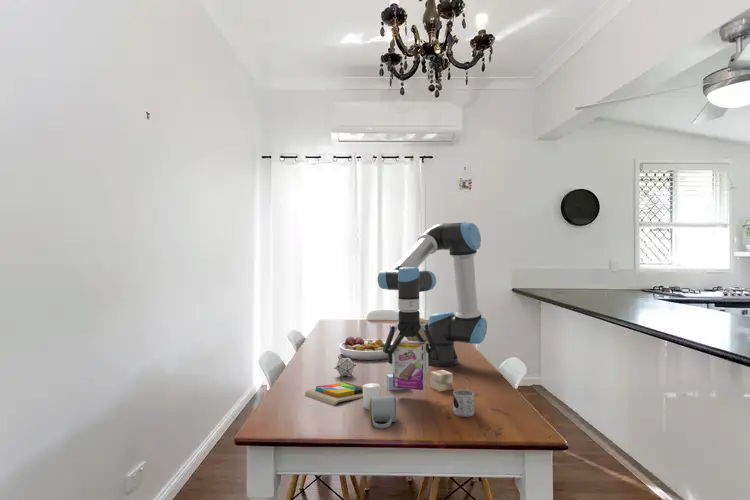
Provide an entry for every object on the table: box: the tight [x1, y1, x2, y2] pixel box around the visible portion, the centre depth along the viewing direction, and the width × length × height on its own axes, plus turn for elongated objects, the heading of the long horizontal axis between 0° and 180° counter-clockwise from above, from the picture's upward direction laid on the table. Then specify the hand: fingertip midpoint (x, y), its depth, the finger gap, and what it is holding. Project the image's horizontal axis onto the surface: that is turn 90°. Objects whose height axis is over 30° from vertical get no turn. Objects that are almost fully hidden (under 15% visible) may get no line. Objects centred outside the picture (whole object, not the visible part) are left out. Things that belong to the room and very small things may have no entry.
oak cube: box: [429, 369, 454, 392], centre depth 181 cm, size 6×6×6 cm
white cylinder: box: [362, 382, 382, 411], centre depth 160 cm, size 6×6×7 cm
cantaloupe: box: [405, 317, 429, 343], centre depth 264 cm, size 15×15×15 cm
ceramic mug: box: [368, 395, 397, 429], centre depth 146 cm, size 11×8×8 cm
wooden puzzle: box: [304, 380, 363, 407], centre depth 174 cm, size 18×19×4 cm
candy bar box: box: [392, 339, 427, 391], centre depth 171 cm, size 11×5×16 cm, turn 71°
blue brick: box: [386, 373, 407, 391], centre depth 182 cm, size 8×4×5 cm, turn 102°
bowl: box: [339, 336, 394, 361], centre depth 240 cm, size 30×30×8 cm
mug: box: [452, 389, 475, 418], centre depth 152 cm, size 10×7×7 cm
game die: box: [333, 356, 357, 379], centre depth 199 cm, size 9×8×10 cm
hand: (409, 371), depth 171 cm, fingers closed on candy bar box, 12 cm apart
